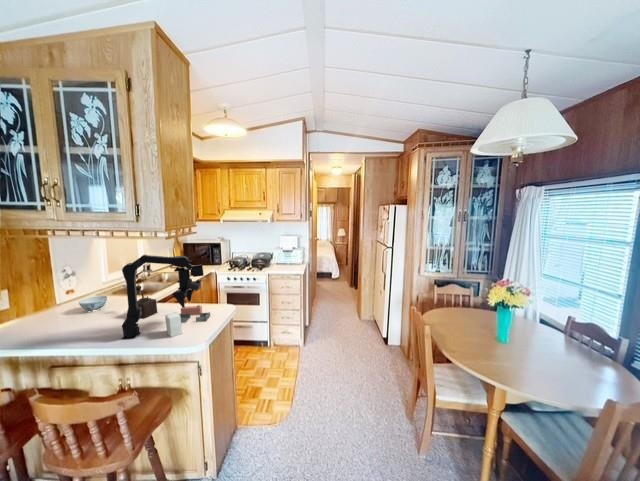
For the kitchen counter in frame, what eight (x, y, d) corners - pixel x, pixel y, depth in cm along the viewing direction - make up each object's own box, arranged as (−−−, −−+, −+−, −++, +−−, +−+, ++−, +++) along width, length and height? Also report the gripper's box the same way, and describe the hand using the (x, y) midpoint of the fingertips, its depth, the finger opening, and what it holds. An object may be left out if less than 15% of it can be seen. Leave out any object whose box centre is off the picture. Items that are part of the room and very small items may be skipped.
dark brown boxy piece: (158, 312, 180) (156, 286, 178) (143, 318, 169) (140, 291, 167) (141, 310, 185) (138, 284, 182) (125, 316, 174) (122, 289, 172)
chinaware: (101, 305, 196) (100, 294, 195) (112, 308, 190) (111, 297, 189) (75, 312, 183) (74, 301, 182) (87, 315, 176) (85, 304, 175)
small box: (182, 334, 148) (180, 315, 146) (171, 337, 144) (169, 318, 143) (177, 329, 153) (176, 311, 152) (166, 332, 150) (164, 314, 148)
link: (181, 316, 173) (180, 307, 172) (183, 314, 176) (182, 305, 176) (200, 315, 174) (199, 306, 173) (202, 313, 178) (201, 304, 177)
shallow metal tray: (175, 323, 162) (174, 319, 162) (180, 317, 170) (180, 314, 169) (206, 321, 164) (206, 317, 163) (210, 316, 171) (210, 312, 171)
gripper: (192, 281, 146) (194, 309, 148) (204, 273, 165) (206, 298, 167) (171, 282, 145) (173, 310, 147) (185, 274, 164) (187, 299, 166)
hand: (186, 304), depth 157 cm, fingers open, 9 cm apart
